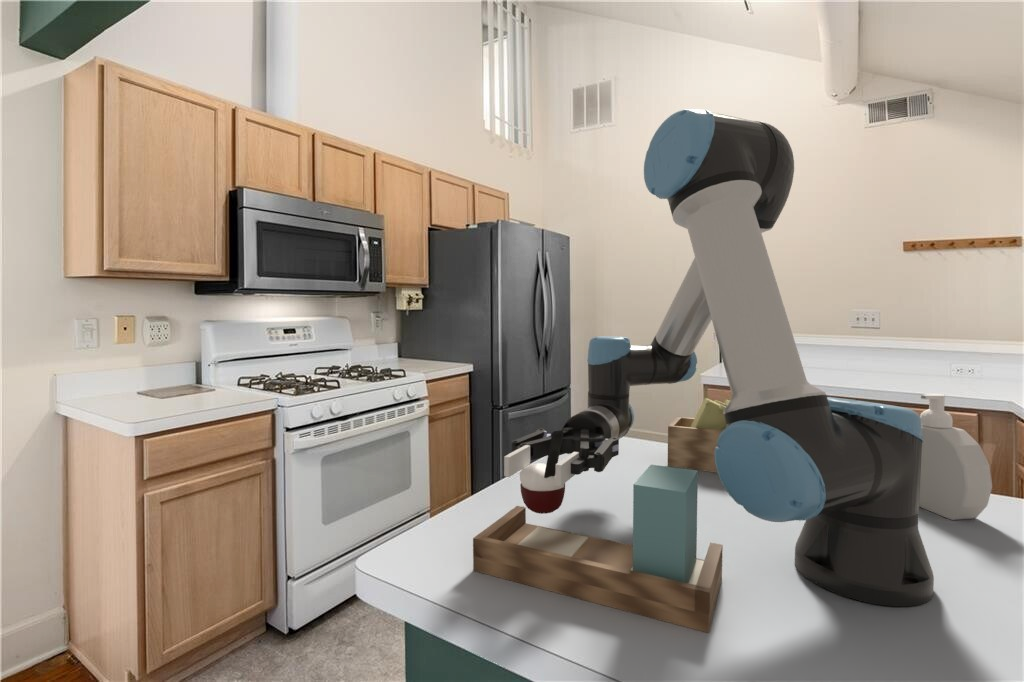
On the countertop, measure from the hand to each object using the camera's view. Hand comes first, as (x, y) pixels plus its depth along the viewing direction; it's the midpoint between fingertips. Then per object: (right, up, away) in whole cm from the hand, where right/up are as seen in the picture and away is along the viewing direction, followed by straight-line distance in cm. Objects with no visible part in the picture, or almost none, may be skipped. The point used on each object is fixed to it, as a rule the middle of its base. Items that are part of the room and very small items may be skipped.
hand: (531, 470), depth 69 cm
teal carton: (+17, -12, -2) cm, 21 cm away
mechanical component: (+47, -11, +48) cm, 68 cm away
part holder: (+47, -11, +48) cm, 68 cm away
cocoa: (+2, -7, +5) cm, 9 cm away
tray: (+9, -14, +1) cm, 16 cm away
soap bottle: (+71, -13, +24) cm, 76 cm away
